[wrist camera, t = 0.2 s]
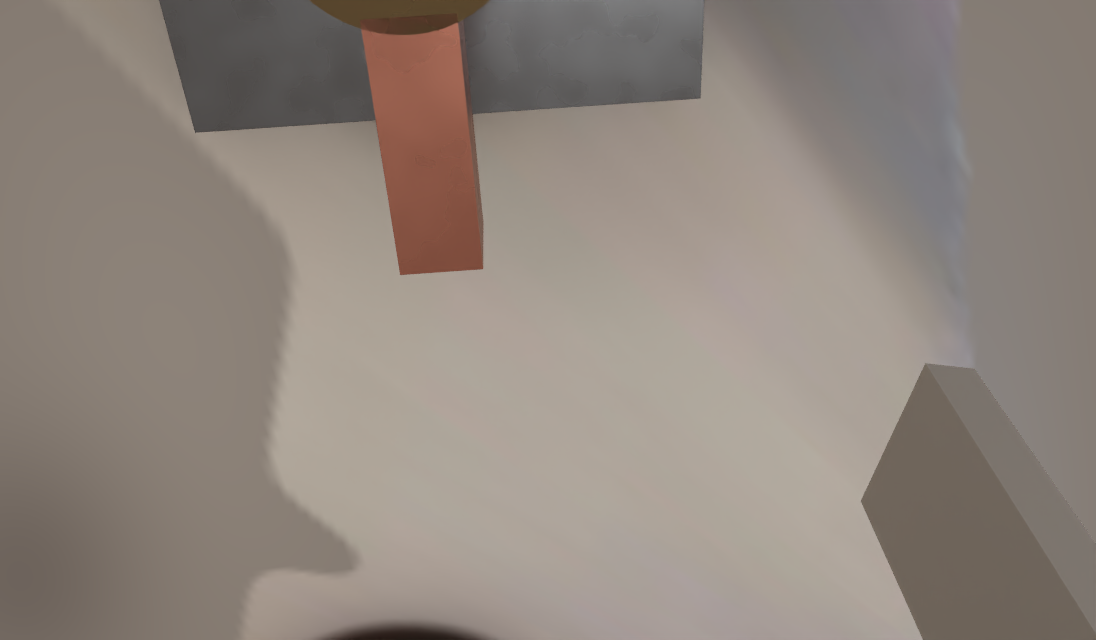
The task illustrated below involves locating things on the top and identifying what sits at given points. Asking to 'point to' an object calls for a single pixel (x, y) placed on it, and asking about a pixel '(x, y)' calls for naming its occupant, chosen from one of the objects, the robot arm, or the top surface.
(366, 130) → the top surface
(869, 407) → the top surface
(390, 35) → the scoop with pink handle
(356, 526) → the top surface
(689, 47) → the grey plate with post
